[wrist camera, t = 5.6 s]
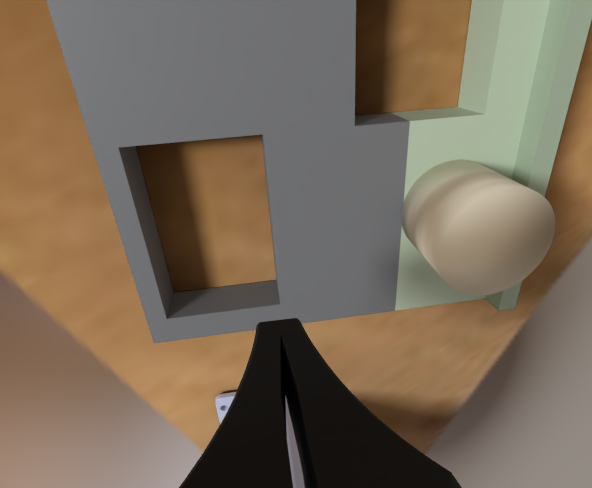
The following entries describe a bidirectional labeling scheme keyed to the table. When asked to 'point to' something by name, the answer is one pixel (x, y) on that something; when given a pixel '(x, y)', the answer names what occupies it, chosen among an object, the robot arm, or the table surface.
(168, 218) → the table surface
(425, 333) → the table surface
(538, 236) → the beige rounded cylinder
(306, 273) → the trap deck
